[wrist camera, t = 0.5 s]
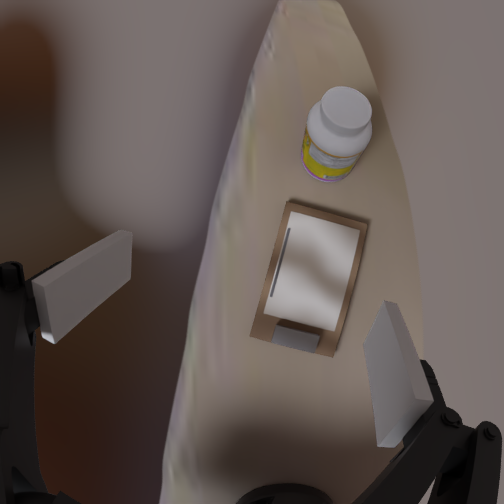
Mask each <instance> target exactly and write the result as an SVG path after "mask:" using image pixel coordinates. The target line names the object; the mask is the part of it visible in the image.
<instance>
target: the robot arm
mask: <svg viewBox="0 0 504 504" xmlns="http://www.w3.org/2000/svg"><path fill="white" fill-rule="evenodd" d="M131 251H132V233H131V232H128V231H124V230H119V231H117V232H115V233H113V234H111V235H110V236H108V237H106V238H104V239H102V240H100V241H99V242H97V243H95V244H93V245H91V246H89V247H88V248H86V249H84V250H82V251H81V252H79V253H77V254H75V255H74V256H72V257H70V258H69V259H67V260H63V261H59V262H56V263H55V264H53V265H51V266H50V267H49V268H46V269H44V270H43V271H41V272H40V273H38V274H36V275H34V276H33V277H31V278H30V279H28V280H26V281H25V279H24V272H23V266H22V264H21V263H19V262H14V261H10V262H5V263H2V264H0V504H81V503H79V502H77V501H76V500H74V499H72V498H71V497H69V496H68V495H66V494H64V493H63V492H61V491H60V492H59V493H58V495H53V494H50V493H48V491H47V488H46V485H45V483H44V480H43V478H42V475H41V473H40V467H39V459H38V451H37V441H36V429H35V410H34V364H35V363H34V362H35V346H36V334H35V330H36V329H37V328H38V327H39V326H40V328H41V332H42V337H43V338H45V339H47V340H48V341H50V342H52V343H53V344H56V343H57V342H58V341H59V340H60V339H61V338H62V337H63V336H64V335H65V334H67V333H68V332H69V331H70V330H71V329H72V328H73V327H75V326H76V325H77V324H78V323H79V322H80V321H81V320H82V319H84V318H85V317H86V316H87V315H88V314H89V313H91V312H92V311H93V310H94V309H95V308H96V307H97V306H99V305H100V304H101V303H102V302H103V301H104V300H106V299H107V298H108V297H109V296H110V295H112V294H113V293H114V292H115V291H116V290H118V289H119V288H120V287H121V286H122V285H124V284H125V283H126V282H127V281H128V280H130V279H131ZM363 346H364V351H365V357H366V363H367V369H368V376H369V382H370V389H371V396H372V404H373V412H374V420H375V429H376V438H377V446H378V447H391V448H395V447H396V446H397V445H398V443H399V442H400V441H401V440H402V439H403V443H404V448H403V449H402V450H401V451H400V452H399V453H398V454H397V455H396V456H395V457H394V458H393V459H392V460H391V461H390V462H391V463H390V464H389V465H388V466H387V467H386V468H385V470H384V471H383V472H382V473H381V474H380V475H379V476H378V477H377V478H376V480H375V481H374V482H373V483H372V484H371V485H370V486H369V487H368V488H367V489H366V490H365V491H364V492H363V493H362V494H361V495H360V496H359V497H358V498H357V499H356V500H355V501H354V502H353V503H352V504H418V503H419V502H420V500H421V499H422V497H423V496H424V494H425V493H426V491H427V490H428V488H429V486H430V485H431V483H432V482H433V480H434V479H435V477H436V479H435V482H434V485H433V488H432V492H431V495H430V498H429V501H428V503H427V504H496V503H497V496H498V489H499V480H500V468H501V452H502V436H501V432H500V430H499V429H498V427H497V426H496V425H495V424H493V423H491V422H488V421H484V422H481V423H480V424H479V425H478V426H477V428H476V429H474V428H471V427H468V426H465V425H463V423H462V419H461V417H460V416H459V414H458V413H457V412H456V411H454V410H453V409H451V408H449V407H446V404H445V401H444V399H443V396H442V393H441V391H440V387H439V386H438V382H437V379H435V374H434V372H433V369H432V368H431V366H430V365H429V364H428V363H427V362H426V360H420V359H419V357H418V354H417V352H416V349H415V346H414V344H413V341H412V339H411V336H410V334H409V331H408V329H407V326H406V324H405V322H404V319H403V317H402V314H401V312H400V310H399V307H398V305H397V304H396V303H392V302H388V301H384V300H383V303H382V305H381V307H380V309H379V312H378V314H377V316H376V318H375V321H374V323H373V325H372V327H371V329H370V331H369V333H368V335H367V338H366V340H365V342H364V344H363ZM236 504H333V502H332V501H331V499H330V498H329V497H328V496H327V495H326V494H325V493H323V492H322V491H320V490H318V489H315V488H313V487H310V486H305V485H300V484H276V485H270V486H265V487H262V488H258V489H256V490H253V491H251V492H249V493H247V494H246V495H244V496H243V497H242V498H241V499H239V500H238V502H237V503H236Z"/></svg>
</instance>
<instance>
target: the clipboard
mask: <svg viewBox="0 0 504 504" xmlns="http://www.w3.org/2000/svg"><path fill="white" fill-rule="evenodd" d="M367 225H368V224H365V223H362V222H358V221H355V220H352V219H348V218H345V217H341V216H338V215H334V214H331V213H327V212H324V211H320V210H316V209H313V208H309V207H306V206H302V205H298V204H294V203H291V202H287V201H286V205H285V209H284V213H283V216H282V220H281V224H280V228H279V231H278V235H277V239H276V243H275V246H274V250H273V254H272V257H271V261H270V265H269V268H268V272H267V276H266V279H265V283H264V286H263V290H262V294H261V297H260V301H259V304H258V308H257V312H256V315H255V319H254V322H253V326H252V329H251V333H250V337H254V338H257V339H261V340H265V341H268V342H271V343H275V344H279V345H283V346H286V347H290V348H294V349H298V350H302V351H307V352H311V353H316V354H320V355H325V356H329V357H333V356H334V353H335V350H336V347H337V344H338V340H339V337H340V334H341V330H342V327H343V324H344V320H345V317H346V313H347V309H348V306H349V302H350V298H351V294H352V291H353V287H354V283H355V279H356V275H357V271H358V266H359V262H360V258H361V253H362V249H363V244H364V240H365V235H366V230H367Z"/></svg>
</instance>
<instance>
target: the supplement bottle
mask: <svg viewBox="0 0 504 504" xmlns="http://www.w3.org/2000/svg"><path fill="white" fill-rule="evenodd" d="M371 116H372V108H371V105H370V102H369V101H368V99H367V98H366V97H365V96H364V95H363V94H362V93H361V92H359V91H357V90H355V89H353V88H350V87H345V86H338V87H334V88H331V89H329V90H328V91H327V92H326V93H325V94H324V95H323V98H322V100H320V101H318V102H317V103H316V104H315V105H314V106H313V107H312V108H311V110H310V112H309V114H308V118H307V123H306V128H305V134H304V139H303V145H302V151H301V159H302V163H303V166H304V168H305V169H306V171H307V172H308V173H309V174H310V175H311V176H312V177H314V178H316V179H318V180H320V181H323V182H336V181H339V180H341V179H343V178H344V177H346V176H347V175H348V174H349V172H350V171H351V170H352V168H353V166H354V165H355V163H356V162H357V160H358V159H359V157H360V156H361V154H362V152H363V151H364V149H365V148H366V146H367V145H368V143H369V142H370V139H371V136H372V123H371V120H370V119H371Z"/></svg>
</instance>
